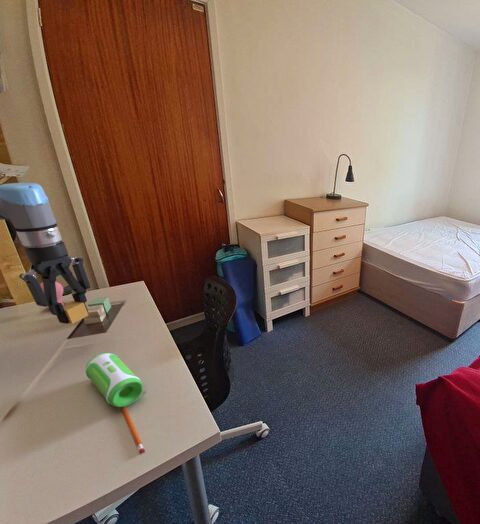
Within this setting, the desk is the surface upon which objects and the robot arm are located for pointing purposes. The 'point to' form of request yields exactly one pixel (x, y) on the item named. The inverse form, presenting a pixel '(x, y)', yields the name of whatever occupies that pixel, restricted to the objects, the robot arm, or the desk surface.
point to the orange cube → (75, 311)
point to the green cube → (101, 303)
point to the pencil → (133, 430)
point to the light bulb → (58, 291)
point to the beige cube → (95, 314)
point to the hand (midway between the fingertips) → (74, 317)
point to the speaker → (114, 379)
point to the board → (96, 324)
